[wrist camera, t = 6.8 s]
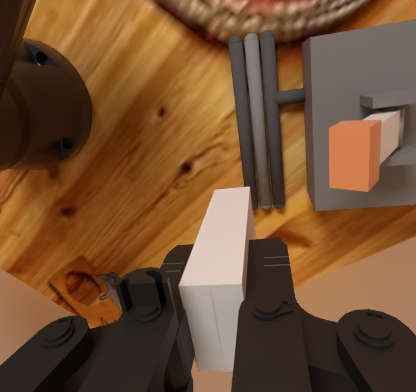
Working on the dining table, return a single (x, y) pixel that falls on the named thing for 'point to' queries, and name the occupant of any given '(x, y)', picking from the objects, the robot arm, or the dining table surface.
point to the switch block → (360, 108)
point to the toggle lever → (363, 148)
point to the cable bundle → (260, 116)
